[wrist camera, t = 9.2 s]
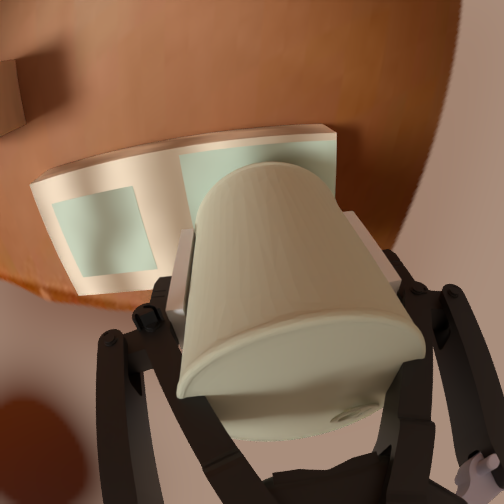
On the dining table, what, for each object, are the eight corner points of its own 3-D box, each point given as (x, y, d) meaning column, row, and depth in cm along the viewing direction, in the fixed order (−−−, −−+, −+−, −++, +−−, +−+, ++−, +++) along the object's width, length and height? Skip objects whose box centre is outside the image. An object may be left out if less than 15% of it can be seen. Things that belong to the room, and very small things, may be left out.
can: (284, 301, 23) (316, 453, 13) (171, 253, 19) (140, 431, 9) (365, 209, 18) (467, 358, 9) (246, 130, 15) (288, 275, 5)
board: (88, 274, 26) (78, 295, 23) (47, 169, 19) (29, 184, 17) (320, 247, 26) (329, 268, 24) (322, 123, 20) (336, 132, 17)
